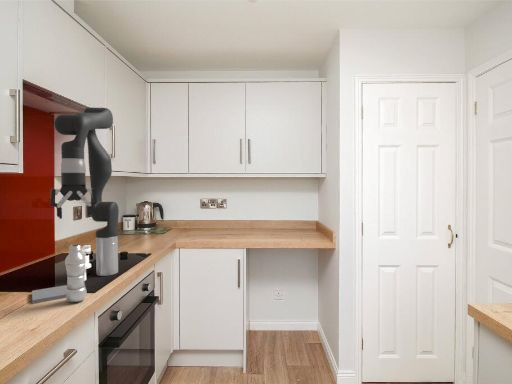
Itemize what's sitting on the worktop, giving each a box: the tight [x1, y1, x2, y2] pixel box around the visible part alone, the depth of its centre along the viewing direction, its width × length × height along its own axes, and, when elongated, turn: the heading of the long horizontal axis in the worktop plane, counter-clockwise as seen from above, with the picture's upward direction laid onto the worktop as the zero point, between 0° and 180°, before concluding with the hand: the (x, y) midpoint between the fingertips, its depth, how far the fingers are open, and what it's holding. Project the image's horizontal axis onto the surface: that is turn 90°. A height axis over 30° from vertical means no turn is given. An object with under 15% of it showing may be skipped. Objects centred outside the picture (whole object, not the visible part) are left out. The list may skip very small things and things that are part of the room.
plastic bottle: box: [64, 244, 87, 303], centre depth 117 cm, size 6×7×20 cm
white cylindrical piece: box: [80, 244, 92, 281], centre depth 141 cm, size 7×7×15 cm
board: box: [31, 284, 67, 304], centre depth 124 cm, size 12×14×1 cm
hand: (74, 217), depth 116 cm, fingers open, 8 cm apart
